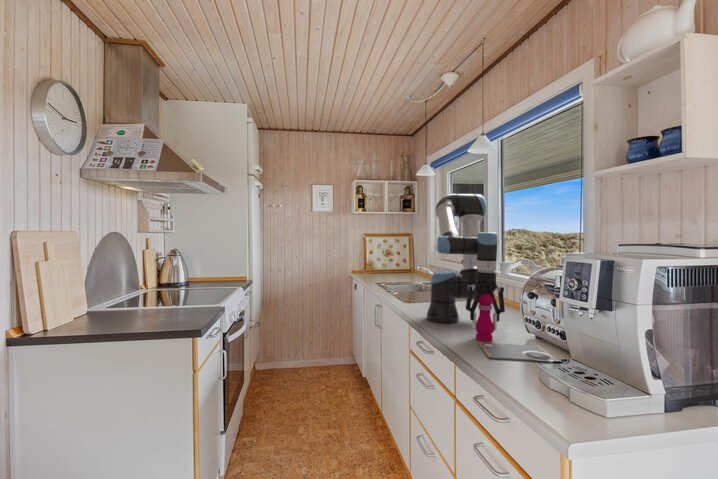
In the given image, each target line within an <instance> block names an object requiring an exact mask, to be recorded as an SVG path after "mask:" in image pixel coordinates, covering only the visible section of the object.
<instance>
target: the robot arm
mask: <svg viewBox="0 0 718 479" xmlns="http://www.w3.org/2000/svg"><path fill="white" fill-rule="evenodd" d="M486 214H487V202H486V200H485V197H484V196H483V195H482V194H479V193H449V194H446V195H445V196H443V197H442V198H441V199H440V200H439V201H438V202H437V203H436V206H435V215H436V217H437V218H438V222H439V223H438V224H439V225H438V226H439V232H440V236H438V237H437V240H436V251H437V252H438V254H445V255H462V263H463V264H462V268H461V270H459V273H458V272H456V270H442V271H436V272H433V274H432V275H431V282H430V284H431V286H430V287H431V288H430V303H429V306H428V309H427V312H426V319H427V321H430V322H432V323H433V322H434V323H440V324H454V323H458V322H459V321H460V316H459V312H458V309H457V305H456V299H459V300H460V299H461V300H466V304H465V309H466V311H467V312H470V314H469V317H470V318H469V319H470V320H471V321H472V329H473V330H475V329H476V322H477V312H476V309H477V306H478V305H479V303H478V302H479V297H481V296H482V294H490V295H491V297H493V303H492V304H491V305H492V307H493V310H494V312H492V323H493V325H494V331H498V330H497V328H498V323H497V322H500V314H501V313H505V312H506V310H505V300H504V298H505V297H504V290H505V288H504V287H503V286H501V285H498V284H497V272H496V271H497V262H498V261H497V259H498V244H499V240H498V234H497V233H496V232H484V231H483V232H482V231H481V222H482V221H483V220H484V217H486ZM455 217H458V220H459V222H460V223H461V227H462V228H461V230H462V232H461V233H462V236H459V232H458V227H457V222H456V218H455ZM495 291H497V295H498V302H497V299H496V297H495V294H494V293H495ZM472 300H473V302H472Z"/></svg>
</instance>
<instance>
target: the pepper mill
mask: <svg viewBox="0 0 718 479" xmlns="http://www.w3.org/2000/svg"><path fill="white" fill-rule="evenodd" d="M492 303H493V297H491V295H490V294H482V296H481V297H479V302H478V305H477V306H478V308H477V309H479V314H478V317H477V319H476V329H474V330H475V332H476V334H475V339H476V340H477V341H480V342H486V343H489V342H492V341H493V336H494V335H492V334H493V333H494V331H495V330H494V325H493V319H492V317H491V311H492V307H493V304H492Z"/></svg>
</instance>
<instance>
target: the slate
mask: <svg viewBox="0 0 718 479" xmlns="http://www.w3.org/2000/svg"><path fill="white" fill-rule="evenodd" d="M477 345H478V347H479V348H480V349H481V350H482V351H483V353H484V354H485V356H486V357H487V358H488V359H489V360H497V361H498V360H501V361H504V360H505V361H520V362H536V361H548V360H558V359H557V358H556V357H554V356H553V355H552V354H550V353H549V351H547V350H545V349H544V348H542V347H541V346H540V345H537V344H536V345H535V344H533V345H532V344H515V343H514V344H512V343H511V344H510V343H496V342H495V343H494V342H493V343H492V342H482V341H480V342H477Z"/></svg>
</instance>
